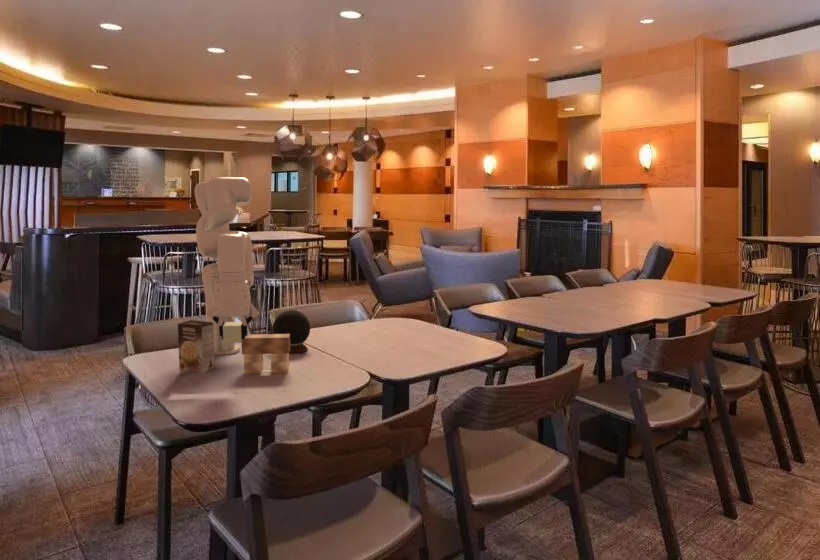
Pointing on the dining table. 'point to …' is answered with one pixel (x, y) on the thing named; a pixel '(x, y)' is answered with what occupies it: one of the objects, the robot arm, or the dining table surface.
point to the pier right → (279, 363)
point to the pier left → (253, 363)
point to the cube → (232, 332)
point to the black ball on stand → (293, 329)
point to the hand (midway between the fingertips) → (233, 337)
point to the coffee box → (196, 346)
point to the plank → (266, 344)
